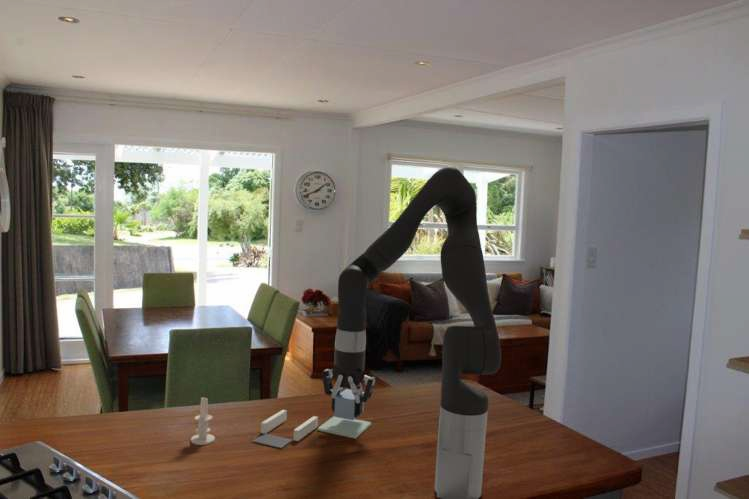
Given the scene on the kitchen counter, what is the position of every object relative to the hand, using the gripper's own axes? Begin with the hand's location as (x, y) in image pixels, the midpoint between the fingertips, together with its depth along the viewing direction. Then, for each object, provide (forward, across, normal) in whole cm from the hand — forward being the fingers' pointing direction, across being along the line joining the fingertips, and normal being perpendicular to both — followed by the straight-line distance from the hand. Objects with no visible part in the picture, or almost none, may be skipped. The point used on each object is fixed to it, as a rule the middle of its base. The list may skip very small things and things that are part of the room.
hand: (346, 414), depth 150 cm
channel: (+3, +11, +11) cm, 16 cm away
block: (0, 0, -2) cm, 2 cm away
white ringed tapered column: (+4, +25, +23) cm, 34 cm away
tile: (+3, 0, 0) cm, 3 cm away
